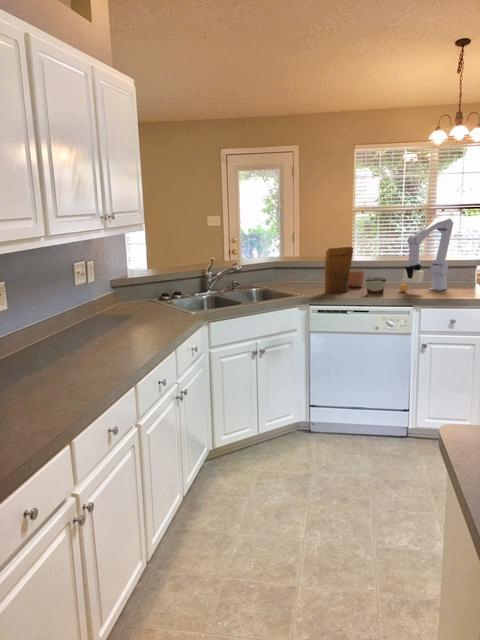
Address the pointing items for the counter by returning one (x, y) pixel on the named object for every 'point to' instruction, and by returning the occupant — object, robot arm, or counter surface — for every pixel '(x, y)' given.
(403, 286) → the ball
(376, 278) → the food container
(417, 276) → the cream white block
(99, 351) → the counter surface
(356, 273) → the planter
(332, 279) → the pancake mix bag
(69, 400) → the counter surface
